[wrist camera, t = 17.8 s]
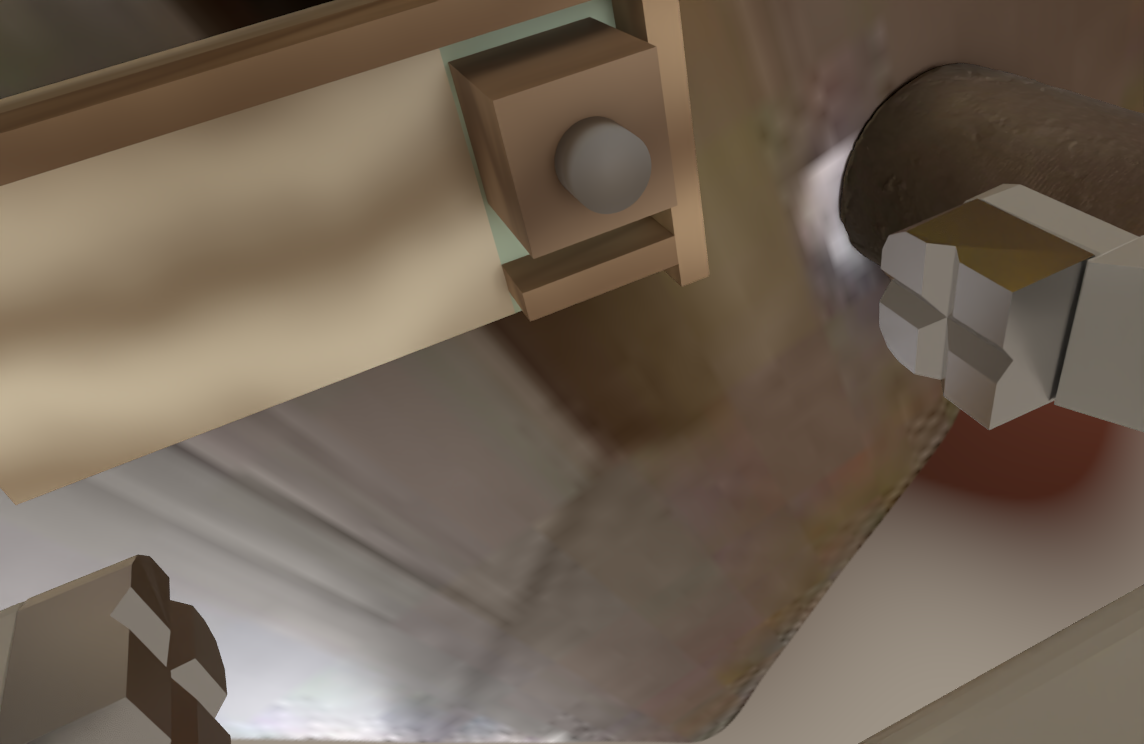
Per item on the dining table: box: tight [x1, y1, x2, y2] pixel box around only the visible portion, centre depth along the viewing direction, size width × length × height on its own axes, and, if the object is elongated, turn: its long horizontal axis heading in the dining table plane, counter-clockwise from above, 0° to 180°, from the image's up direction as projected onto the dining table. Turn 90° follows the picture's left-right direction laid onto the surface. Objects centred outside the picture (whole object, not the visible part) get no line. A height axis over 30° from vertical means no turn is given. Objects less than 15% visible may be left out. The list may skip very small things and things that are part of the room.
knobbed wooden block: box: [448, 17, 678, 259], centre depth 26 cm, size 5×5×6 cm
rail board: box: [0, 0, 710, 505], centre depth 27 cm, size 12×26×4 cm, turn 103°
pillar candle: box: [840, 63, 1144, 266], centre depth 33 cm, size 10×10×15 cm
